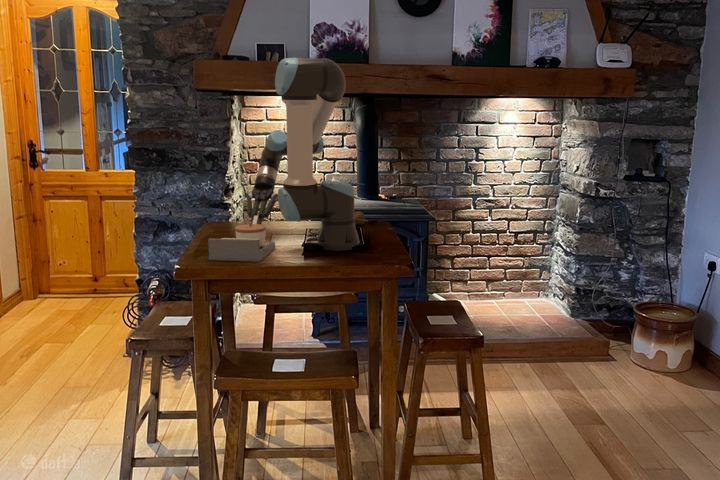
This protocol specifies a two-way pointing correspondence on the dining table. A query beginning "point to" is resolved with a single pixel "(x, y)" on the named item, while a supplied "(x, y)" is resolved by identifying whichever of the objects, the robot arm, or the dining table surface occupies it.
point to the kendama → (359, 218)
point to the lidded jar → (251, 232)
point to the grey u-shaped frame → (238, 250)
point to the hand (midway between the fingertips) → (253, 232)
